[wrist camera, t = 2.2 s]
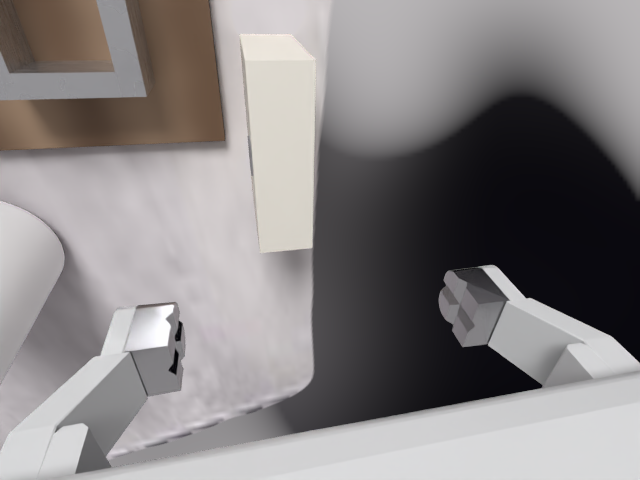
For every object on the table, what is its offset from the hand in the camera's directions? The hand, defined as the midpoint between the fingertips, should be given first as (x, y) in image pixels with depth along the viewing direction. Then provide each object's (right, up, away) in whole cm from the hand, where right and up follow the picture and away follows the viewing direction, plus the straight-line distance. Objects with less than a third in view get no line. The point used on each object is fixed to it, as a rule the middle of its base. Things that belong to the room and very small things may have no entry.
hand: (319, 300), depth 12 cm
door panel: (-3, +10, +14) cm, 17 cm away
